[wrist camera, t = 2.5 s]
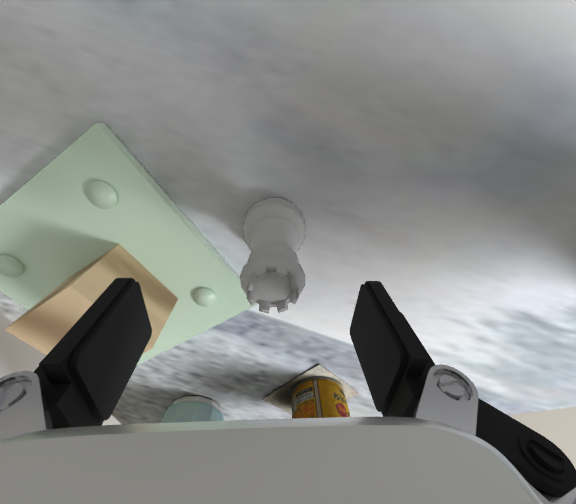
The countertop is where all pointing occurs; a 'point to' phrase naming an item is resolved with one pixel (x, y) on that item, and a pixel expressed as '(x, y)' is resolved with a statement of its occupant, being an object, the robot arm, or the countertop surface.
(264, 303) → the rook chess piece
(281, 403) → the condiment
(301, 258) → the countertop surface
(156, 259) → the build plate
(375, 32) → the countertop surface
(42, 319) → the oak brick
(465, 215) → the countertop surface
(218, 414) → the disposable coffee cup
